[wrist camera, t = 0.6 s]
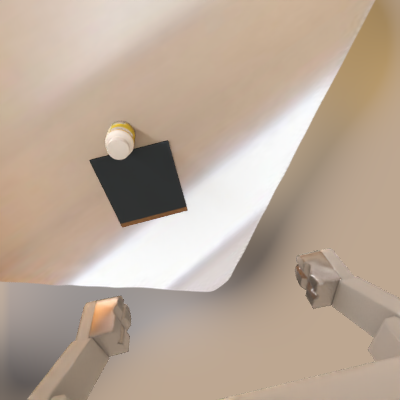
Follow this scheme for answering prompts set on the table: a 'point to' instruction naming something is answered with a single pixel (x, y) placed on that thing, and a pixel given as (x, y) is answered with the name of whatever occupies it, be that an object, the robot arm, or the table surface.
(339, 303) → the robot arm
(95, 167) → the mat
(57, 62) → the table surface
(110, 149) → the supplement bottle
